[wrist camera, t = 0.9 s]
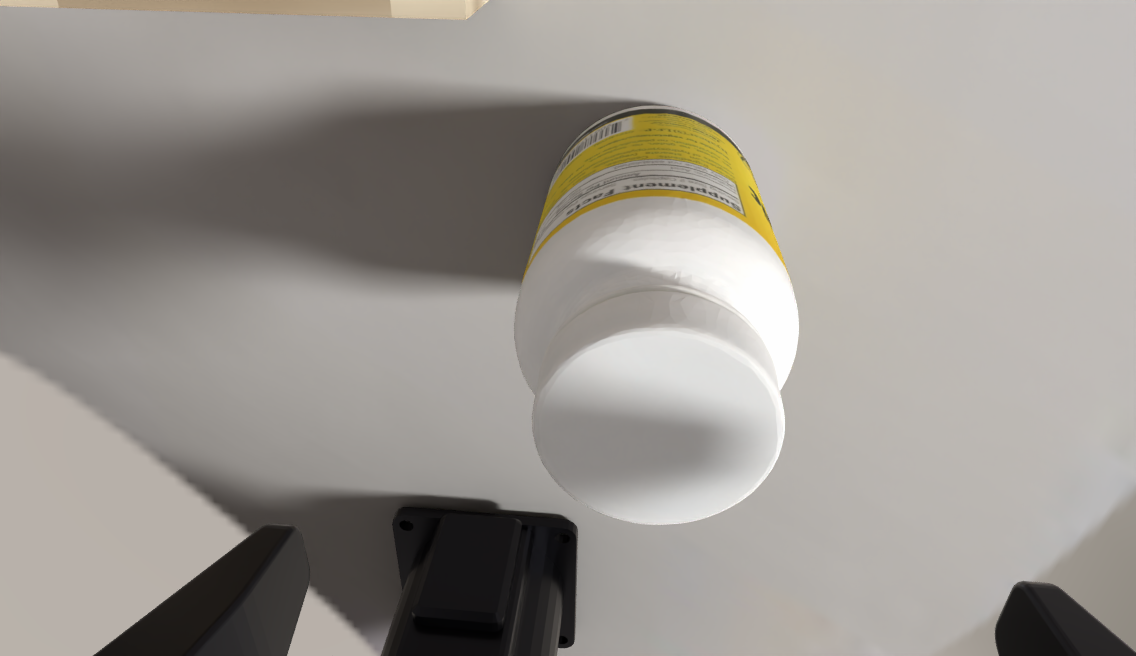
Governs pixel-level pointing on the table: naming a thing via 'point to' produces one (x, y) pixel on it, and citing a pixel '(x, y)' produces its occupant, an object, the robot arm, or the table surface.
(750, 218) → the supplement bottle
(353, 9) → the square holder
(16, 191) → the table surface
